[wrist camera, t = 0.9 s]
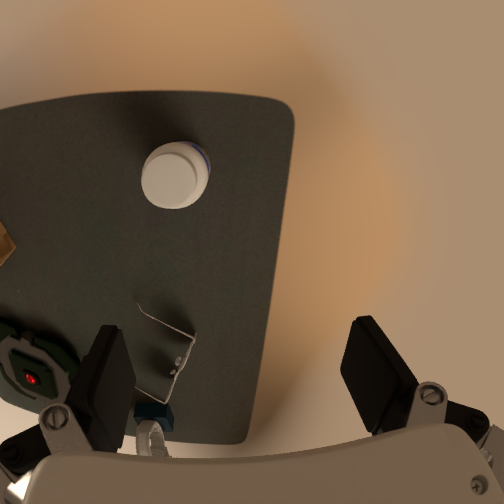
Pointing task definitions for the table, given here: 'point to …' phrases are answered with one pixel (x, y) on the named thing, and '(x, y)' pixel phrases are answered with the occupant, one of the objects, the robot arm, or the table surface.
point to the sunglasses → (176, 359)
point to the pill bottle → (175, 174)
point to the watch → (152, 428)
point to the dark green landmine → (36, 363)
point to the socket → (5, 244)
